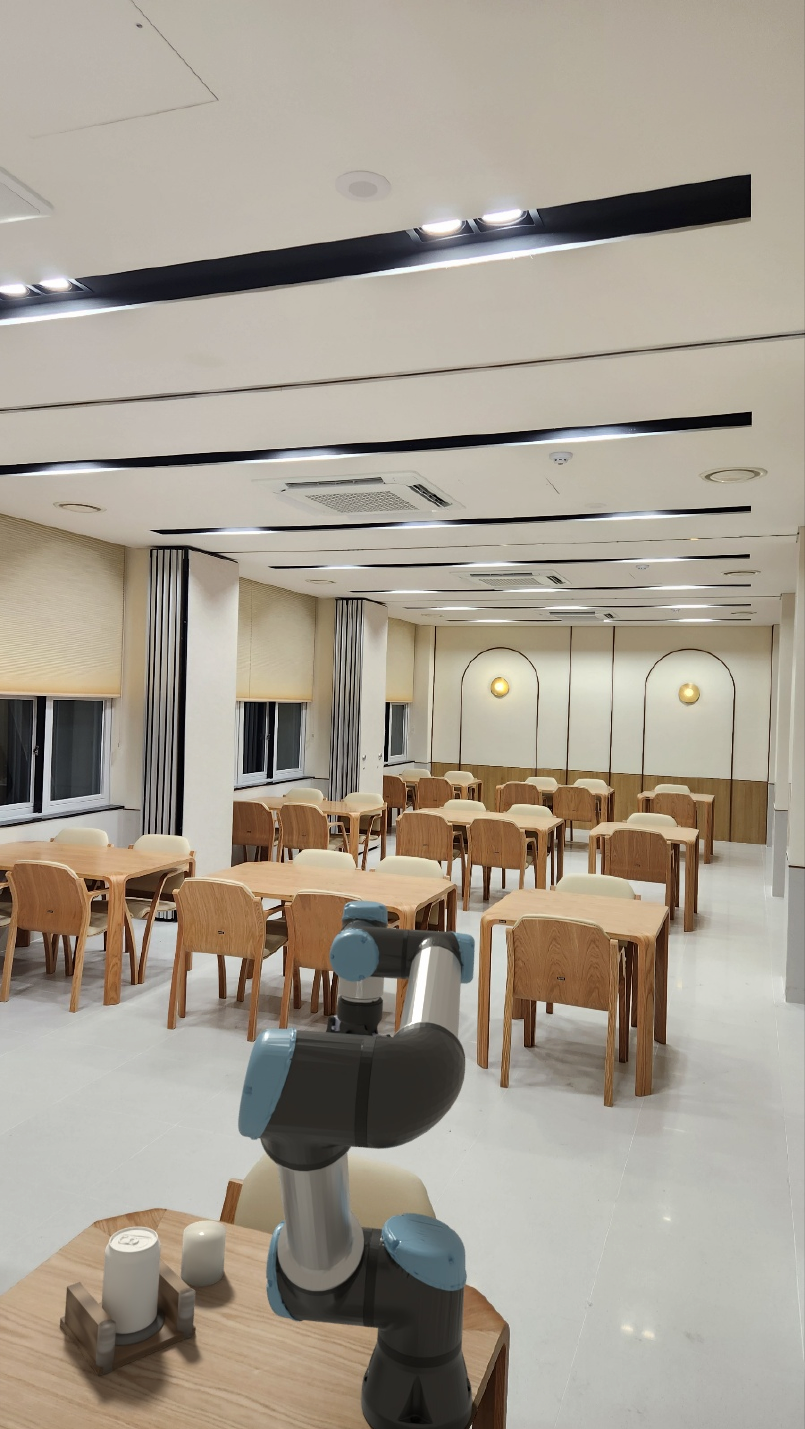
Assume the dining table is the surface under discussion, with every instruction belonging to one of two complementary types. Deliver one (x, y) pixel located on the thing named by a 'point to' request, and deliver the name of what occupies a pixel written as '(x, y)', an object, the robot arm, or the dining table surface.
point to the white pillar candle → (203, 1253)
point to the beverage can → (131, 1278)
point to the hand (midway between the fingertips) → (353, 1126)
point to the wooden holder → (114, 1349)
